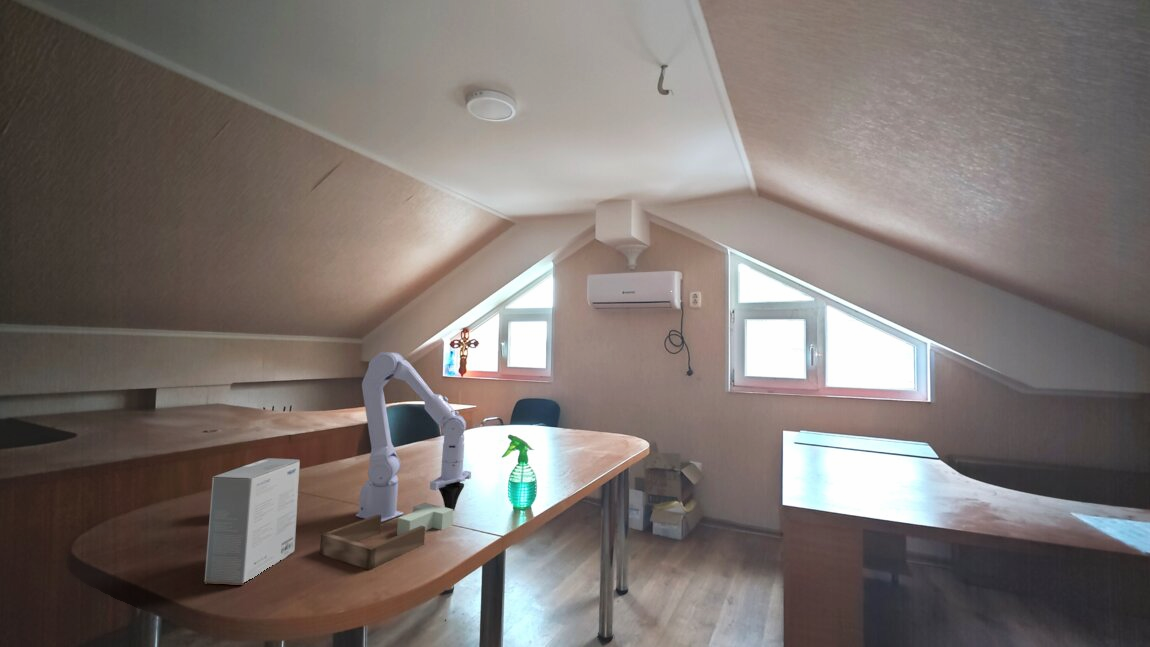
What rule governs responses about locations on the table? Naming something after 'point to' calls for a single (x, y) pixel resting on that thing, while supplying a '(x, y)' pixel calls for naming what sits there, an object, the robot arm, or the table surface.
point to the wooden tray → (365, 556)
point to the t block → (426, 518)
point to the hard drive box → (251, 519)
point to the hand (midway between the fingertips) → (449, 510)
